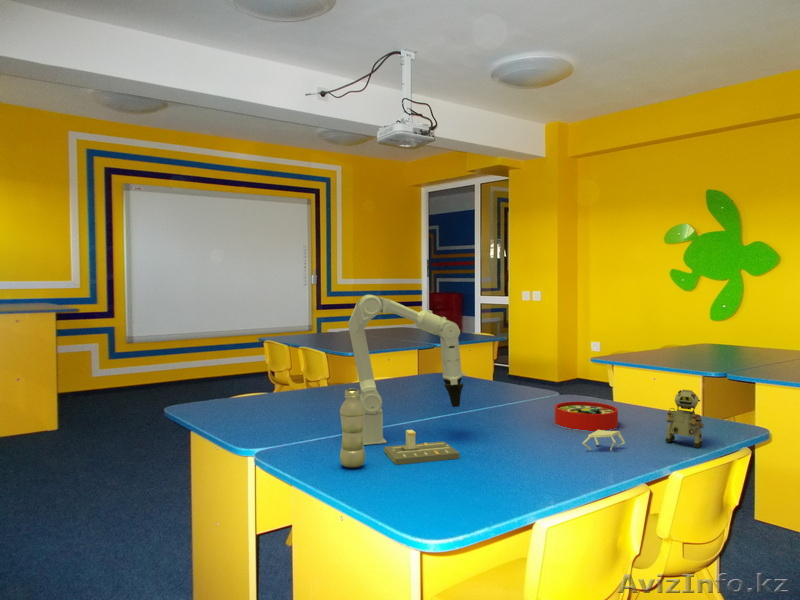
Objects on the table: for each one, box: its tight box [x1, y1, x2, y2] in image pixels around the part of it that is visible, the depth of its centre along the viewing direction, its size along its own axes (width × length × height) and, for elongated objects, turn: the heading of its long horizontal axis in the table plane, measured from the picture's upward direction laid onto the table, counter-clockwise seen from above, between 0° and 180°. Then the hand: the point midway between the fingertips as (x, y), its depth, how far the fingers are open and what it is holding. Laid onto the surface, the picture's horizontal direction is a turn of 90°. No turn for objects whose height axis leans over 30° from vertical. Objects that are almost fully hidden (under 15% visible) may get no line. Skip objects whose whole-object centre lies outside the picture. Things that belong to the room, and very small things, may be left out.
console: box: [383, 440, 461, 466], centre depth 158 cm, size 18×12×2 cm, turn 106°
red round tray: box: [554, 401, 619, 431], centre depth 191 cm, size 20×6×20 cm
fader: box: [402, 429, 419, 451], centre depth 157 cm, size 4×3×5 cm
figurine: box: [665, 389, 705, 449], centre depth 168 cm, size 9×12×15 cm
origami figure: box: [582, 430, 626, 451], centre depth 163 cm, size 12×8×5 cm
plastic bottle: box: [339, 388, 366, 469], centre depth 149 cm, size 6×7×20 cm
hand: (455, 403), depth 176 cm, fingers open, 7 cm apart
